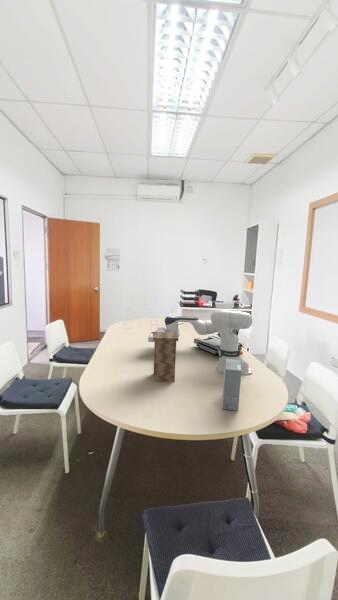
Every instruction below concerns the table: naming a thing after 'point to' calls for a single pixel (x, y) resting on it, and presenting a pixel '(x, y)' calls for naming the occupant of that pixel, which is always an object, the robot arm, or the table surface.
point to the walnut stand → (164, 356)
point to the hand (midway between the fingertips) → (162, 341)
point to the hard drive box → (231, 384)
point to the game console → (211, 345)
